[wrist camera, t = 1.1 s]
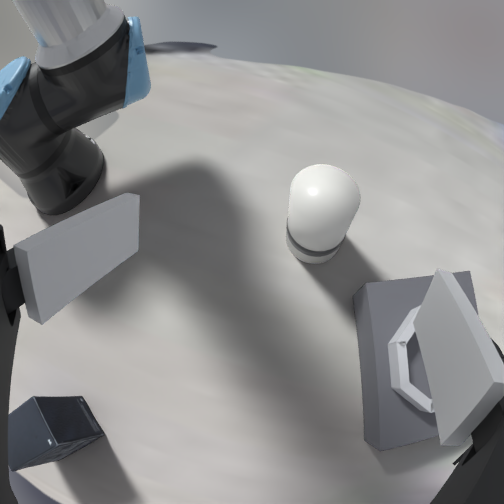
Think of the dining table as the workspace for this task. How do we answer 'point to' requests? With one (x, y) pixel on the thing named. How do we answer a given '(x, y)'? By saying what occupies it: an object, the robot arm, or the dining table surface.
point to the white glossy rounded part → (320, 212)
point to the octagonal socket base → (396, 361)
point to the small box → (49, 430)
